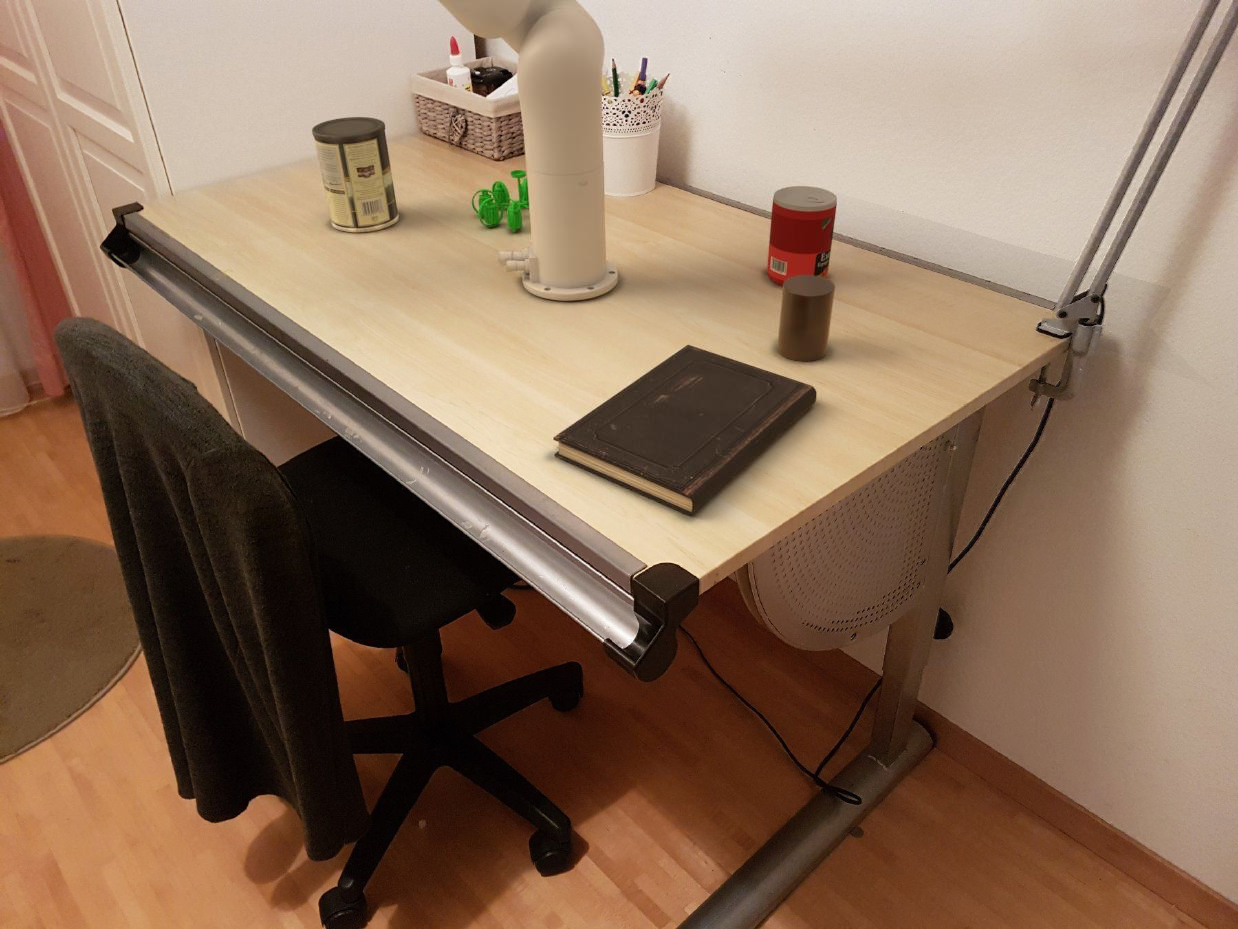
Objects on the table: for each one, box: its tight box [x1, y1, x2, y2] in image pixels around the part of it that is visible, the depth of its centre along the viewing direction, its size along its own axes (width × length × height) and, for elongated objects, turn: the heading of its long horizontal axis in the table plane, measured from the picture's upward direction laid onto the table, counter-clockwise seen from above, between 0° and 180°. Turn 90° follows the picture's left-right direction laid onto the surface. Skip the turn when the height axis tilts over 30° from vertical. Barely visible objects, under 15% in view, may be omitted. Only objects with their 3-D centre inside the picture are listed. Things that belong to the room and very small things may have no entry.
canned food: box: [766, 185, 838, 287], centre depth 119 cm, size 8×8×11 cm
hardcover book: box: [552, 344, 818, 516], centre depth 91 cm, size 16×23×2 cm
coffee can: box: [311, 116, 400, 233], centre depth 137 cm, size 10×10×14 cm
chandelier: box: [471, 169, 529, 233], centre depth 139 cm, size 15×15×7 cm
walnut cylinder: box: [776, 275, 836, 362], centre depth 103 cm, size 6×6×8 cm
